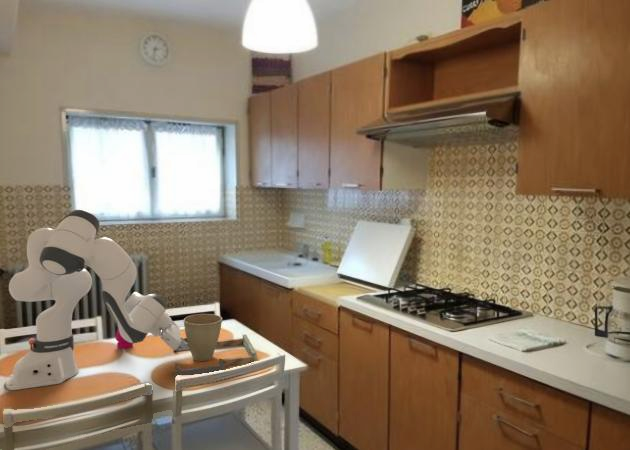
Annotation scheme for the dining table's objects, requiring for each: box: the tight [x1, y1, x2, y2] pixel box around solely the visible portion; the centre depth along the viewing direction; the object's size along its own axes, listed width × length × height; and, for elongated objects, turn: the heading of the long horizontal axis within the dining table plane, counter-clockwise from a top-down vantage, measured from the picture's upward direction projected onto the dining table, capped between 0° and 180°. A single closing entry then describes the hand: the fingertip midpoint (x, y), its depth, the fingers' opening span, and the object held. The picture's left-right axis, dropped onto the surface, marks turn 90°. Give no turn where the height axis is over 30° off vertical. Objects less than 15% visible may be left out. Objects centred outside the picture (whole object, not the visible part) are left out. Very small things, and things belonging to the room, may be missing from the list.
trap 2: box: [174, 358, 225, 377], centre depth 169 cm, size 17×8×3 cm, turn 108°
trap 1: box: [173, 337, 190, 353], centre depth 196 cm, size 17×8×3 cm, turn 108°
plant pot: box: [183, 313, 223, 362], centre depth 183 cm, size 15×15×16 cm
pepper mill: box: [115, 329, 134, 350], centre depth 196 cm, size 7×7×20 cm
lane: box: [215, 334, 257, 368], centre depth 187 cm, size 13×24×4 cm, turn 18°
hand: (186, 346), depth 181 cm, fingers closed
